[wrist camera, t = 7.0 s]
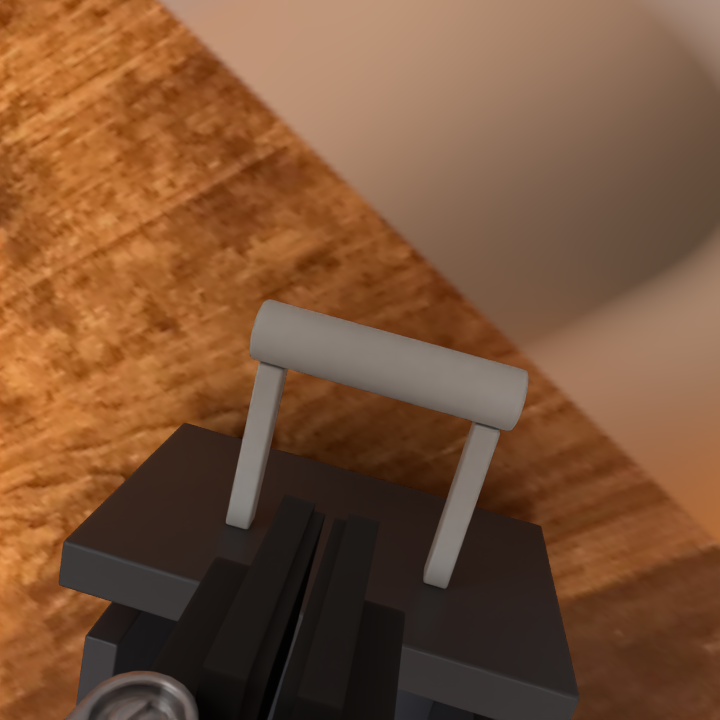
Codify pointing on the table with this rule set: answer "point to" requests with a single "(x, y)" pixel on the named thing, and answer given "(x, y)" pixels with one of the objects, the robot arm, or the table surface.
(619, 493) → the table surface
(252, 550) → the drawer
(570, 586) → the table surface
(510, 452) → the table surface
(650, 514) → the table surface
